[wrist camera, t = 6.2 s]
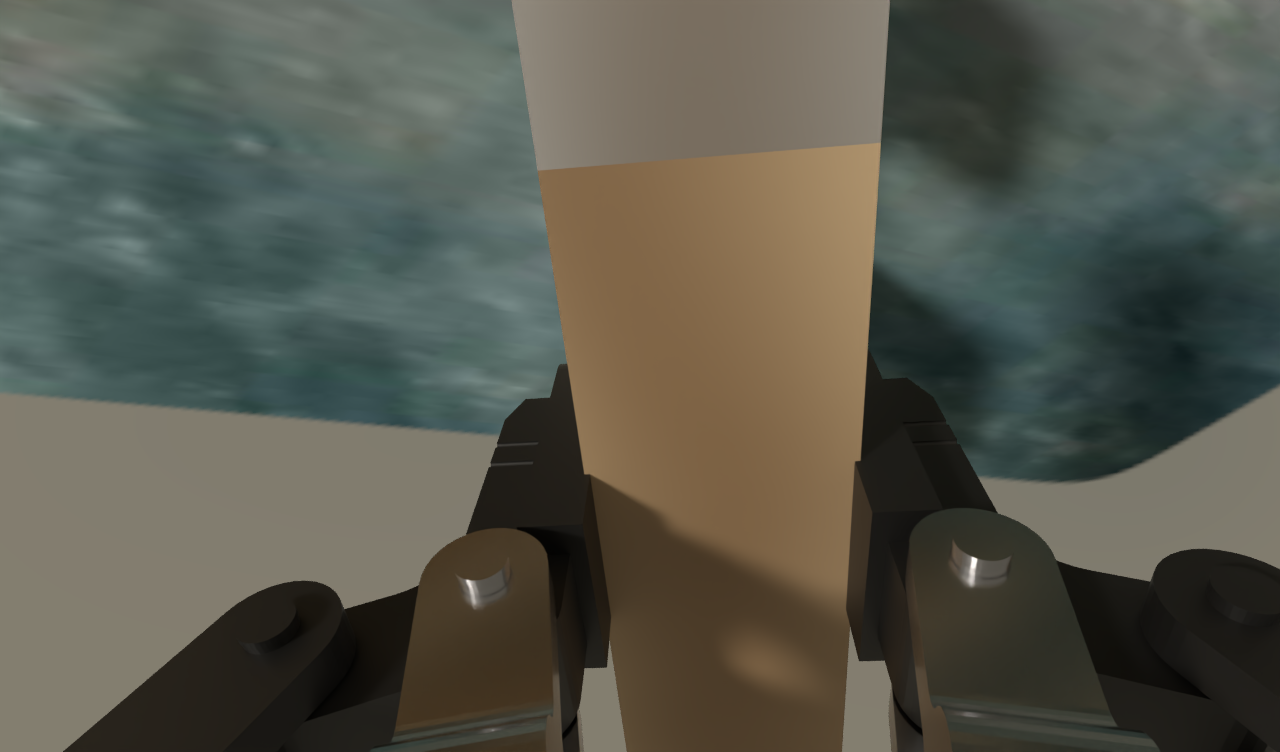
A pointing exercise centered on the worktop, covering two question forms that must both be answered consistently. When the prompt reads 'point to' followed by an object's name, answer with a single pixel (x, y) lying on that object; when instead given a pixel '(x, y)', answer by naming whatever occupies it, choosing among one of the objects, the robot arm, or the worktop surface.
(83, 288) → the worktop surface
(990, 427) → the worktop surface
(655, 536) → the rail
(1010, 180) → the worktop surface
